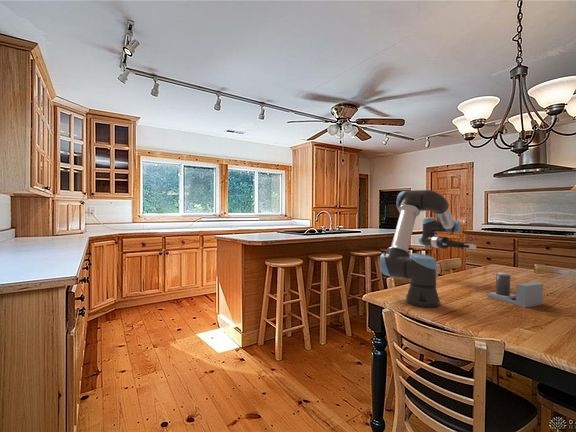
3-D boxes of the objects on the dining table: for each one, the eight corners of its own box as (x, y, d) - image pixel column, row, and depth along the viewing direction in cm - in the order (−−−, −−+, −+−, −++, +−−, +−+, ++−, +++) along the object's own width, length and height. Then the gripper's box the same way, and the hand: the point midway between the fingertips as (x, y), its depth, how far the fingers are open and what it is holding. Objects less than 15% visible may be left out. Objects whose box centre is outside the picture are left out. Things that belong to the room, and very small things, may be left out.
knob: (505, 299, 148) (506, 275, 147) (489, 294, 155) (490, 272, 155) (516, 297, 150) (516, 274, 150) (500, 293, 158) (500, 271, 158)
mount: (524, 307, 137) (525, 286, 137) (486, 296, 154) (487, 277, 154) (542, 304, 142) (543, 283, 141) (503, 294, 158) (504, 275, 158)
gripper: (447, 247, 192) (483, 253, 170) (432, 248, 187) (466, 254, 165) (448, 236, 191) (483, 240, 169) (432, 236, 187) (467, 241, 165)
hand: (475, 247), depth 167 cm, fingers closed
